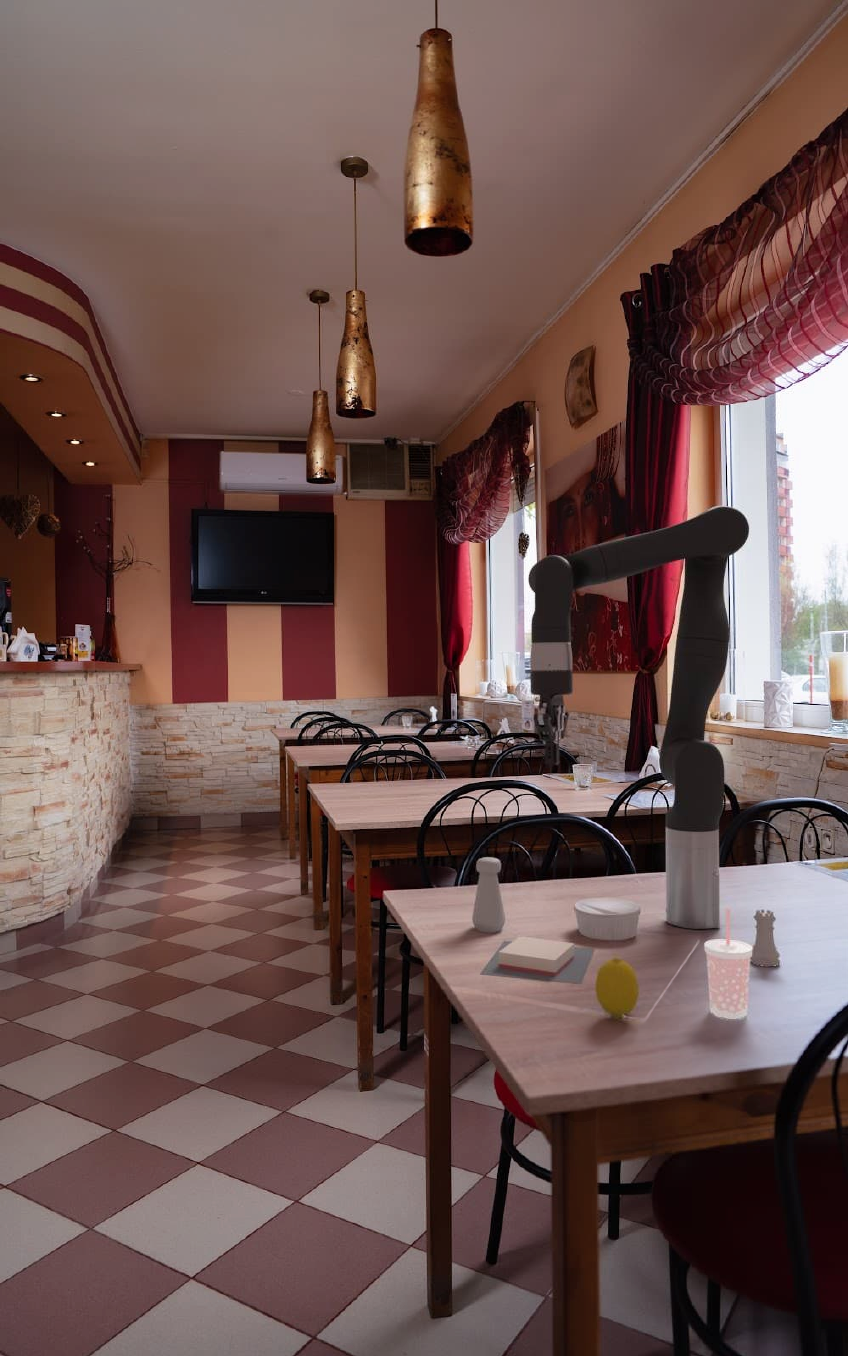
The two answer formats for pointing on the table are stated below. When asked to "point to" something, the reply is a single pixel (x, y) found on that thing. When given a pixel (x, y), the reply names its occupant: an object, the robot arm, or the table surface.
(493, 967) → the slate mat
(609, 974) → the lemon
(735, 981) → the beverage cup
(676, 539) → the robot arm
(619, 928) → the ramekin
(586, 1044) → the table surface
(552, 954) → the tile
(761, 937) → the rook chess piece
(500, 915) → the salt shaker
